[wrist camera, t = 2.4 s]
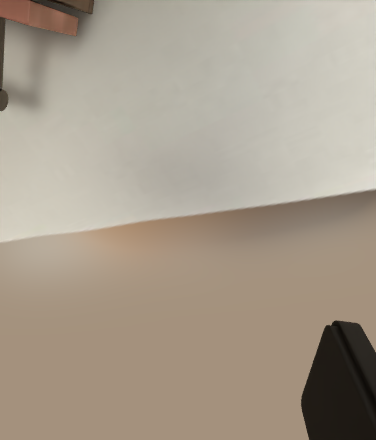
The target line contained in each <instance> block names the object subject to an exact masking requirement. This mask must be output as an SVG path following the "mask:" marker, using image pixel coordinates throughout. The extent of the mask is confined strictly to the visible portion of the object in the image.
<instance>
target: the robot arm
mask: <svg viewBox="0 0 376 440" xmlns="http://www.w3.org/2000/svg"><path fill="white" fill-rule="evenodd" d="M301 407H302V412H303V417H304V421H305V425H306V429H307V433H308V437H309V440H376V352H375V350H374V349H373V347H372V345H371V343H370V341H369V340H368V338H367V336H366V334H365V333H364V331H363V329H362V327H361V326H360V325H359V324H358V323H351V322H344V321H334V322H333V323H332V325H331V326H330V325H327V326H326V327H325V329H324V331H323V334H322V337H321V340H320V343H319V346H318V349H317V352H316V355H315V358H314V361H313V364H312V367H311V370H310V373H309V376H308V379H307V382H306V385H305V388H304V391H303V394H302V399H301Z"/></svg>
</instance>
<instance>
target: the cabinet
mask: <svg viewBox="0 0 376 440" xmlns="http://www.w3.org/2000/svg"><path fill="white" fill-rule="evenodd" d="M48 1H51V2H54V3H57V4H61V5H64V6H67V7H70V8H74V9H77V10H80V11H83V12H86V13H90V14H92V11H93V4H94V0H48Z"/></svg>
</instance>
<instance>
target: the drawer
mask: <svg viewBox="0 0 376 440" xmlns="http://www.w3.org/2000/svg"><path fill="white" fill-rule="evenodd" d="M5 18H6V19H9V20H13V21H16V22H19V23H22V24H26V25H29V26H33V27H38V28H42V29H46V30H51V31H55V32H60V33H64V34H68V35H73V36H76V33H77V25H78V17H75V16H72V15H69V14H67V13H64V12H61V11H58V10H56V9H53V8H50V7H47V6H45V5H42V4H39V3H36V2H34V1H31V0H0V111H3V110H5V108H6V107H7V104H8V94H7V92H6V91H5V90H2V86H3V63H4V39H5Z"/></svg>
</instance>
